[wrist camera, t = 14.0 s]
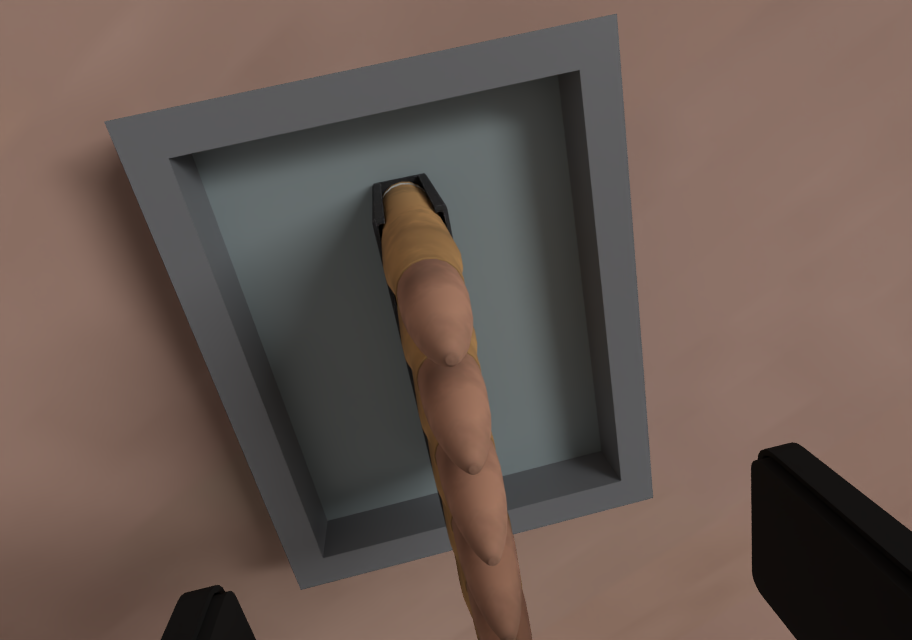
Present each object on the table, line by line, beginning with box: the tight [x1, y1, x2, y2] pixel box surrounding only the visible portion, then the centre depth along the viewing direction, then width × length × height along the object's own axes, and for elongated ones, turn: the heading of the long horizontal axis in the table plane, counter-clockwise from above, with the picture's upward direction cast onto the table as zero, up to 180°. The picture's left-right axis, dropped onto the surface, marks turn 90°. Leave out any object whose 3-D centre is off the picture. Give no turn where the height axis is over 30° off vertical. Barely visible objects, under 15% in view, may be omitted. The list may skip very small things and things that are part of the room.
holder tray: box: [105, 14, 653, 590], centre depth 19 cm, size 14×17×3 cm
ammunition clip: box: [372, 173, 532, 640], centre depth 14 cm, size 11×2×12 cm, turn 10°
